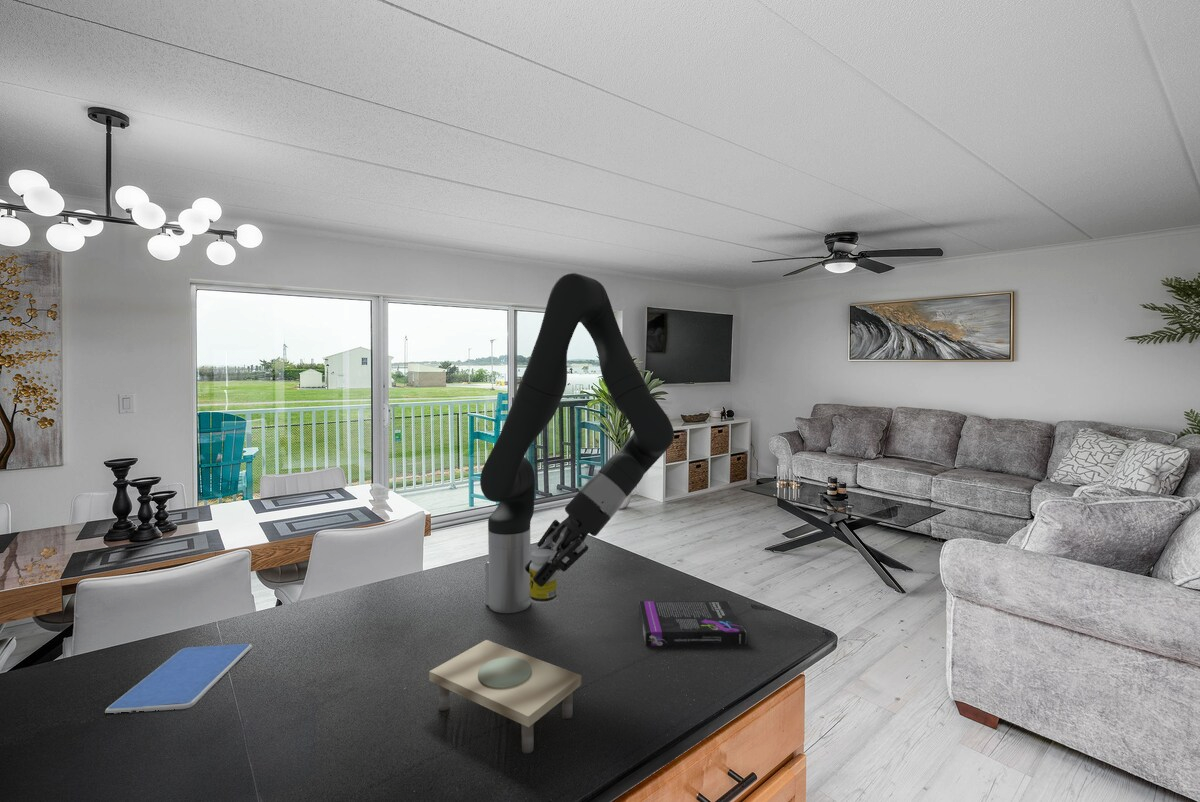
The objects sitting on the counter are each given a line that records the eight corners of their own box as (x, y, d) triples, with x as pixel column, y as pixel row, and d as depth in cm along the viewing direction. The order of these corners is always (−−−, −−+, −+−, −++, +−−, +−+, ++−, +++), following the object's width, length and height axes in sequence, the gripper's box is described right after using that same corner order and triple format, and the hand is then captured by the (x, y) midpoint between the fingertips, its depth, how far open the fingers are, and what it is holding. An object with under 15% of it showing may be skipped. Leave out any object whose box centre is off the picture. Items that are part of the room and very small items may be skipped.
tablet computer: (190, 712, 85) (190, 703, 84) (101, 718, 83) (100, 709, 83) (254, 649, 104) (254, 642, 104) (182, 653, 102) (182, 646, 102)
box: (644, 650, 104) (747, 647, 104) (644, 632, 104) (747, 629, 104) (638, 616, 118) (729, 614, 118) (638, 600, 118) (729, 598, 118)
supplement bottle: (530, 594, 99) (529, 548, 99) (556, 593, 99) (556, 547, 99) (529, 605, 94) (528, 557, 94) (556, 604, 95) (556, 556, 94)
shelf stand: (429, 709, 84) (429, 668, 84) (486, 673, 94) (486, 637, 94) (528, 760, 73) (528, 713, 73) (581, 713, 83) (581, 672, 83)
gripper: (569, 482, 105) (507, 552, 101) (597, 498, 92) (528, 579, 88) (595, 507, 108) (536, 576, 104) (626, 526, 94) (559, 606, 90)
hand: (532, 577), depth 96 cm, fingers closed on supplement bottle, 4 cm apart
